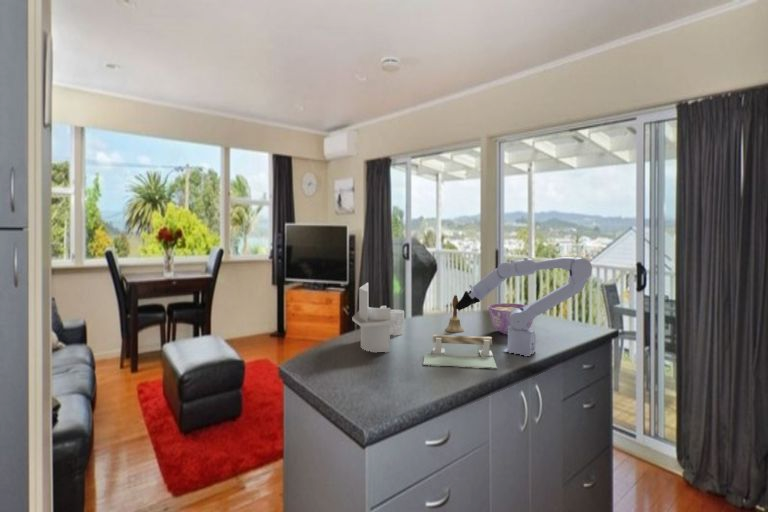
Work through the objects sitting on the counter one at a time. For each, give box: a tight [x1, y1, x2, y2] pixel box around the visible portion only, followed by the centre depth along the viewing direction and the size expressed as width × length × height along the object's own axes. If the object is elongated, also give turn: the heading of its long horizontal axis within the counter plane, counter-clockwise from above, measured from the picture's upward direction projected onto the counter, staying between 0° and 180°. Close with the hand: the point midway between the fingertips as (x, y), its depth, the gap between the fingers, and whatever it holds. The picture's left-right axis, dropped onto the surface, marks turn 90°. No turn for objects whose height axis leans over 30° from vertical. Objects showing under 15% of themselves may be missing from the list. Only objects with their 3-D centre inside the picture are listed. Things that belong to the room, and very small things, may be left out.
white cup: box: [390, 309, 405, 337], centre depth 182 cm, size 8×8×10 cm
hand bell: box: [444, 294, 465, 333], centre depth 188 cm, size 8×8×16 cm
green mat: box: [422, 353, 498, 369], centre depth 143 cm, size 24×11×1 cm, turn 81°
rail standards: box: [431, 338, 494, 358], centre depth 153 cm, size 21×6×6 cm, turn 81°
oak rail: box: [432, 334, 493, 346], centre depth 152 cm, size 21×2×2 cm, turn 81°
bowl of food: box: [487, 302, 534, 336], centre depth 183 cm, size 20×20×12 cm
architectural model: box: [351, 282, 398, 353], centre depth 162 cm, size 28×21×23 cm
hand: (459, 307), depth 160 cm, fingers open, 7 cm apart
